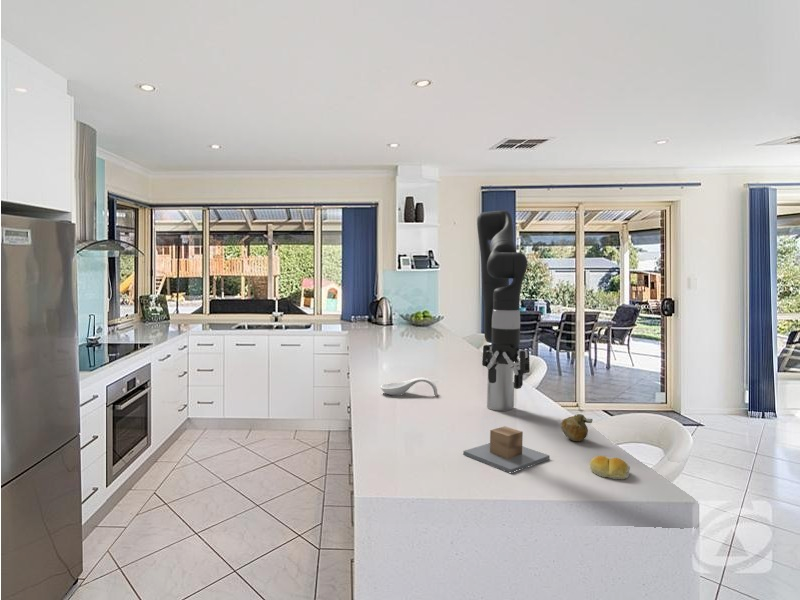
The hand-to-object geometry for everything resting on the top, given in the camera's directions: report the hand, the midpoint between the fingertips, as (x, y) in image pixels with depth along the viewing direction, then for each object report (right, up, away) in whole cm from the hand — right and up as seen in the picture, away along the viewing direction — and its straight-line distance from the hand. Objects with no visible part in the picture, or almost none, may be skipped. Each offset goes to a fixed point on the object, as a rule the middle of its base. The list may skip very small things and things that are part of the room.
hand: (504, 385), depth 131 cm
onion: (+24, -19, +13) cm, 33 cm away
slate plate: (0, -19, -2) cm, 19 cm away
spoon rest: (-25, -16, +68) cm, 74 cm away
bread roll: (+23, -20, -12) cm, 33 cm away
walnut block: (0, -18, -2) cm, 18 cm away
